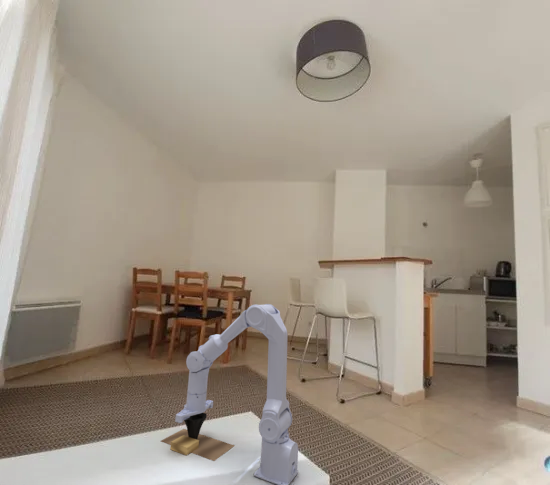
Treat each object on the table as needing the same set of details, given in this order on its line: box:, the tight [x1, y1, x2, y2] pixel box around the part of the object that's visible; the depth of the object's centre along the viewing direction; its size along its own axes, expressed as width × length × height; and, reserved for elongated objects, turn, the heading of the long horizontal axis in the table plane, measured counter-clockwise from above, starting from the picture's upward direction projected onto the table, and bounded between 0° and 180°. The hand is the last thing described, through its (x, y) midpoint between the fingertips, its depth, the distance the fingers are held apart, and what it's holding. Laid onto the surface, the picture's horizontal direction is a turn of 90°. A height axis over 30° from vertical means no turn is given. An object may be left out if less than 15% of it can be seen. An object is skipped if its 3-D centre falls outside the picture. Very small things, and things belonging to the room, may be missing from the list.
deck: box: [160, 428, 236, 462], centre depth 92 cm, size 20×10×2 cm, turn 63°
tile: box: [169, 435, 199, 456], centre depth 89 cm, size 6×5×2 cm
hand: (192, 440), depth 92 cm, fingers closed
